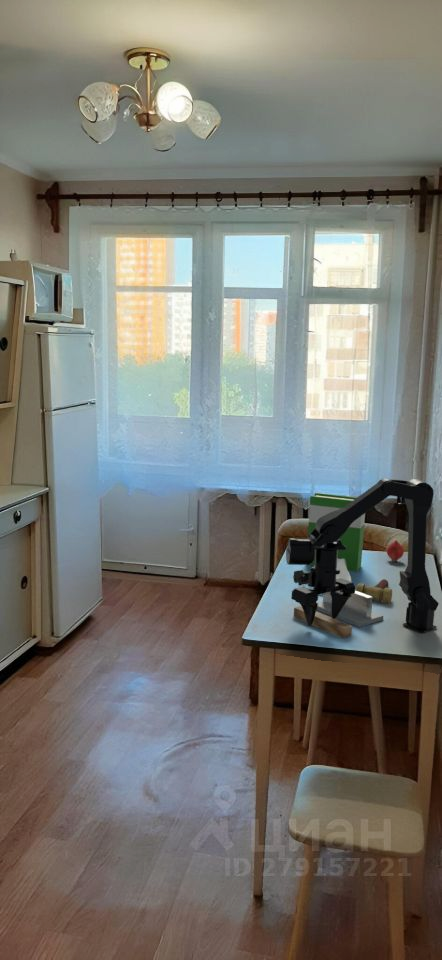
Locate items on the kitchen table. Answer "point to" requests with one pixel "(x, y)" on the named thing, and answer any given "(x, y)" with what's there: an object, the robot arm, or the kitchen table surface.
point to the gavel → (377, 591)
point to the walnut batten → (326, 623)
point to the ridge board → (349, 615)
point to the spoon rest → (342, 570)
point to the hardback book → (351, 537)
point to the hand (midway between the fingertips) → (321, 622)
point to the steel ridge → (355, 604)
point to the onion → (395, 550)
